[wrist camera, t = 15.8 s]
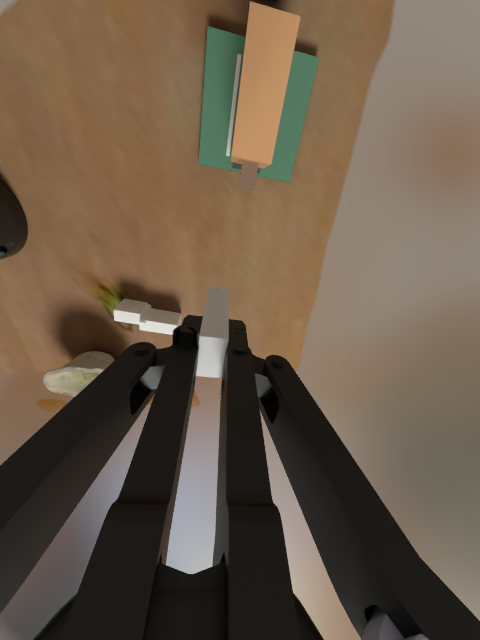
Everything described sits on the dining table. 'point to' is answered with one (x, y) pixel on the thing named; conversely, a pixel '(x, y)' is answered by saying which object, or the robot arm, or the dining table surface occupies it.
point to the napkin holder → (147, 316)
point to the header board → (223, 102)
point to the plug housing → (262, 88)
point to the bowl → (77, 373)
